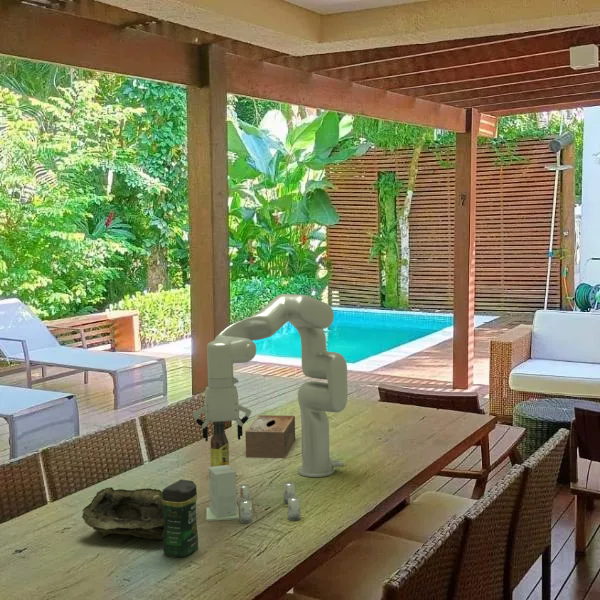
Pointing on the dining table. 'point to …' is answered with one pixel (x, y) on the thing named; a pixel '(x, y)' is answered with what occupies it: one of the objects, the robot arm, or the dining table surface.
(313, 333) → the robot arm
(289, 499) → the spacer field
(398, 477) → the dining table surface
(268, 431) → the tissue box cover
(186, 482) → the coffee jar
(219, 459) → the sauce bottle
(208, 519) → the sage mat
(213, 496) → the small box
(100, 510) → the hollow geode rock
